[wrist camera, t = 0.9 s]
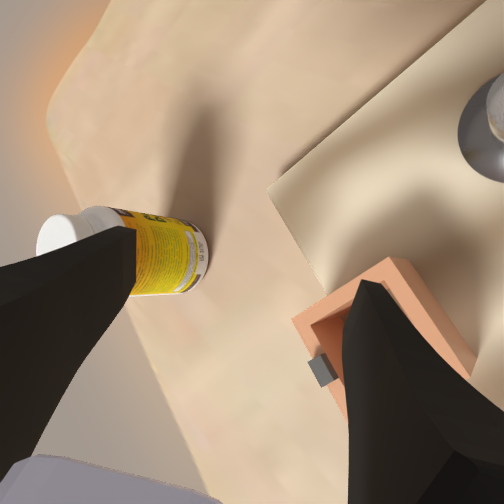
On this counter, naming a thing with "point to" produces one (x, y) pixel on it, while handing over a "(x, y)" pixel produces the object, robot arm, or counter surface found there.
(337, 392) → the orange hollow cube
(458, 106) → the beige base plate
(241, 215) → the counter surface
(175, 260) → the supplement bottle
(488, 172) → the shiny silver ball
